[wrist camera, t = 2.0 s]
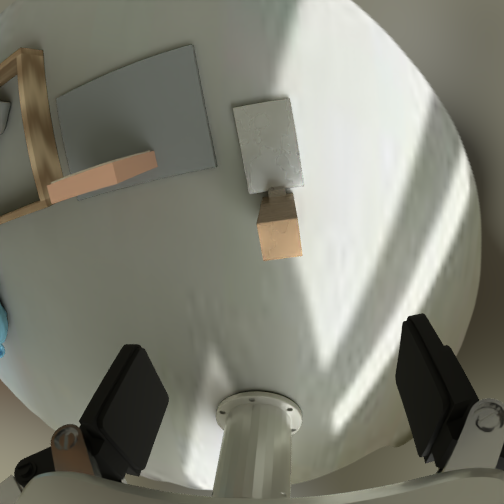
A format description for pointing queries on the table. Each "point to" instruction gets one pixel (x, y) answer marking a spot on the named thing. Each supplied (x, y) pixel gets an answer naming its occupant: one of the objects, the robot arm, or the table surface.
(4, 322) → the decorative pot
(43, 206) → the wooden frame
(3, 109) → the reed diffuser
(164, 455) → the table surface
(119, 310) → the table surface
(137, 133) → the mat
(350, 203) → the table surface
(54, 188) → the tile
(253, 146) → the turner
